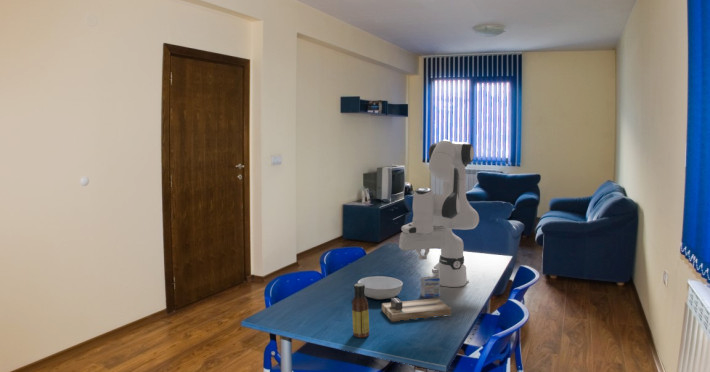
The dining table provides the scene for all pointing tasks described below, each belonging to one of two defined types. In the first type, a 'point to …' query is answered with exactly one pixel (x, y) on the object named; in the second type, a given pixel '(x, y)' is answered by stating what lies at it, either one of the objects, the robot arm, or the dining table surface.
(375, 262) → the dining table surface
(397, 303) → the fader
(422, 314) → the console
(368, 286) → the serving bowl
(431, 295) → the medicine box
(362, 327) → the sauce bottle
